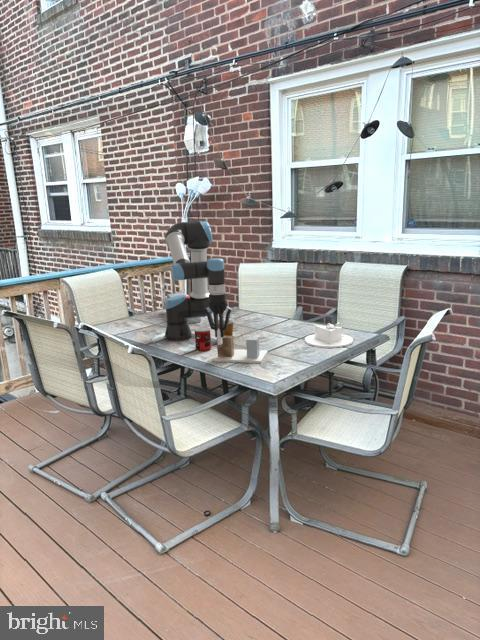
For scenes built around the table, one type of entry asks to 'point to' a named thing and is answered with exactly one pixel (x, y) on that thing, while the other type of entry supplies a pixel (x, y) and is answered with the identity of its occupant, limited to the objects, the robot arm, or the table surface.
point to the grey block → (252, 347)
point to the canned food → (202, 339)
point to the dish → (328, 337)
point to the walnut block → (226, 347)
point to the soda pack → (190, 320)
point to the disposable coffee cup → (230, 327)
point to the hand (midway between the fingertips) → (220, 343)
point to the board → (242, 357)
